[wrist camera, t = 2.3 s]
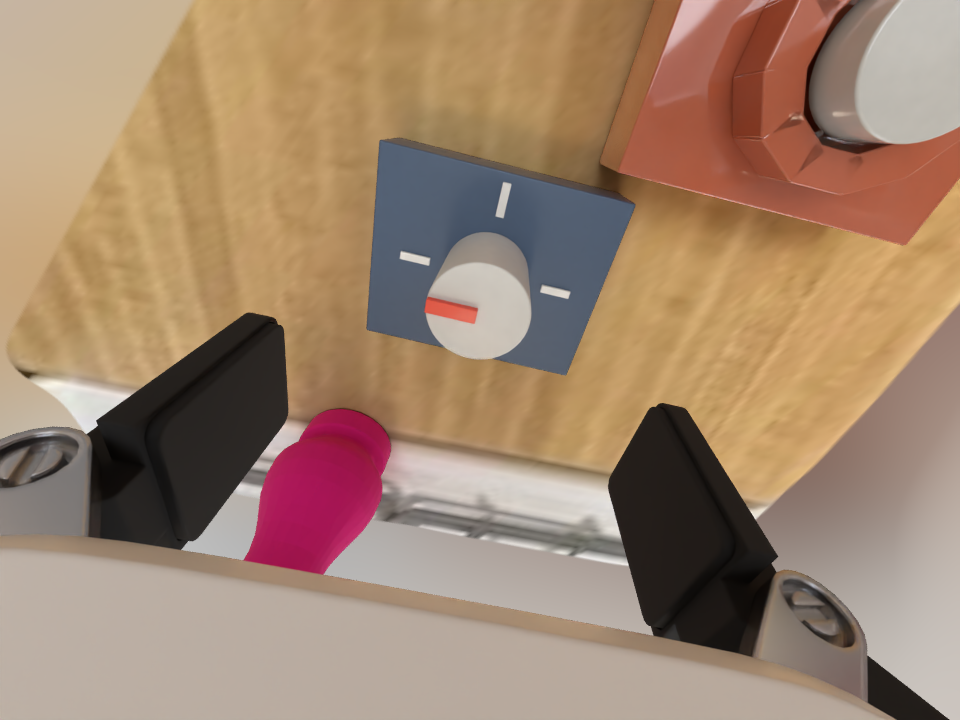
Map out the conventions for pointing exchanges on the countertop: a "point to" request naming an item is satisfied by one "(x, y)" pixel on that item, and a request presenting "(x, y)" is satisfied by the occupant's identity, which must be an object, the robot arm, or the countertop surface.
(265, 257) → the countertop surface
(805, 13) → the orange button housing
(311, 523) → the pepper mill
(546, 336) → the tap panel
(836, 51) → the push button
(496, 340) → the grey dial knob
